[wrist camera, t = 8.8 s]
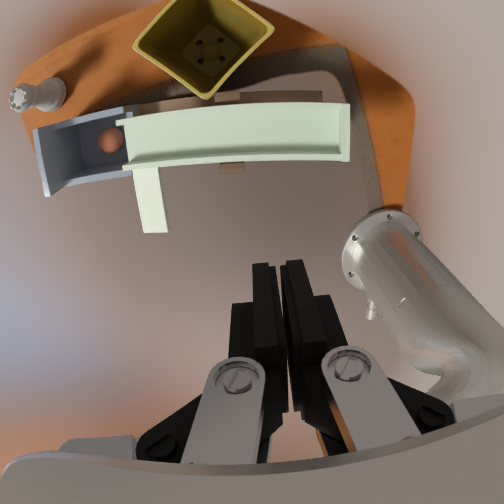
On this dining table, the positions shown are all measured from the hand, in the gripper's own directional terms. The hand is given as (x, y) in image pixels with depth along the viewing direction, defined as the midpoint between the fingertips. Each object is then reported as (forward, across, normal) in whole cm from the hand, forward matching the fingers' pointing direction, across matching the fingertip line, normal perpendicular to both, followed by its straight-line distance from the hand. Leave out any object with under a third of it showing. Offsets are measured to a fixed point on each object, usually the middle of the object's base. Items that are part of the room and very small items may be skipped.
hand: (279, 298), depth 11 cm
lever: (+18, +2, -1) cm, 18 cm away
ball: (+24, +16, -5) cm, 29 cm away
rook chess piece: (+26, +24, -13) cm, 38 cm away
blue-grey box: (+26, +17, -5) cm, 32 cm away
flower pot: (+27, +4, -13) cm, 30 cm away
